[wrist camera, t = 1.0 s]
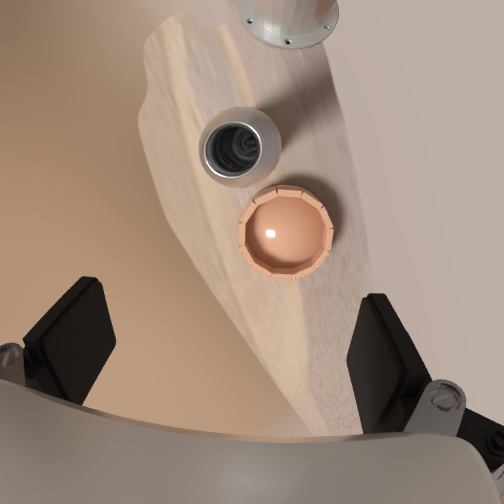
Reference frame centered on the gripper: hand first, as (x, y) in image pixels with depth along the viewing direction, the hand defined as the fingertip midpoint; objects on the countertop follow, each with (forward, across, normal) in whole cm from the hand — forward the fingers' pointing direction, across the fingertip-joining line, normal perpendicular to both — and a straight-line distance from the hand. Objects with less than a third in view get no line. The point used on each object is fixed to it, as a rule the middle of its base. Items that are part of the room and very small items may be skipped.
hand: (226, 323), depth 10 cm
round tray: (+30, -4, +7) cm, 31 cm away
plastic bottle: (+30, +1, -4) cm, 30 cm away
